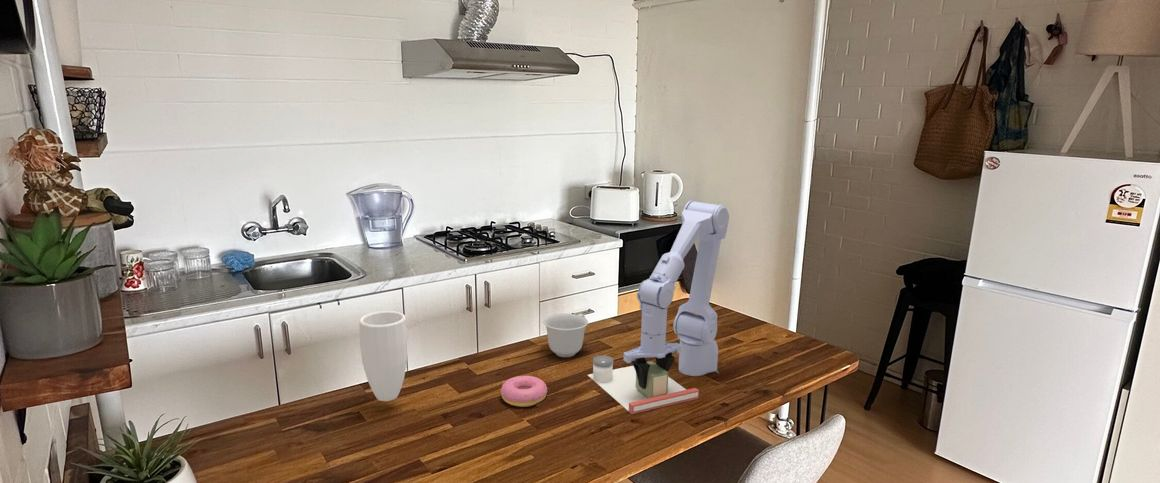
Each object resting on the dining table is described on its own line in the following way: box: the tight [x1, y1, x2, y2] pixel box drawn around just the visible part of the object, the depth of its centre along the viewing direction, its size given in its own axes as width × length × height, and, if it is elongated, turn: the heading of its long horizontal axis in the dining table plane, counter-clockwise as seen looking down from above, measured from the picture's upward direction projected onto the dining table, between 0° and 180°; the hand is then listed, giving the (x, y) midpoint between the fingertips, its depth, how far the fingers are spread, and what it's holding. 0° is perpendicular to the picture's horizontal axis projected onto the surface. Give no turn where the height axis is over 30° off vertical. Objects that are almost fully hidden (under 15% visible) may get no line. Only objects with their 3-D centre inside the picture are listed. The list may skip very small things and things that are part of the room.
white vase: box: [358, 310, 408, 402], centre depth 143 cm, size 10×10×22 cm
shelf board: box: [587, 365, 700, 415], centre depth 156 cm, size 18×22×3 cm
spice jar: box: [592, 354, 614, 383], centre depth 159 cm, size 5×5×5 cm
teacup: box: [543, 313, 589, 358], centre depth 175 cm, size 12×15×10 cm
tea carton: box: [636, 360, 669, 398], centre depth 151 cm, size 7×4×6 cm, turn 26°
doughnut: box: [500, 374, 548, 408], centre depth 151 cm, size 11×11×4 cm
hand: (651, 385), depth 152 cm, fingers closed on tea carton, 4 cm apart
